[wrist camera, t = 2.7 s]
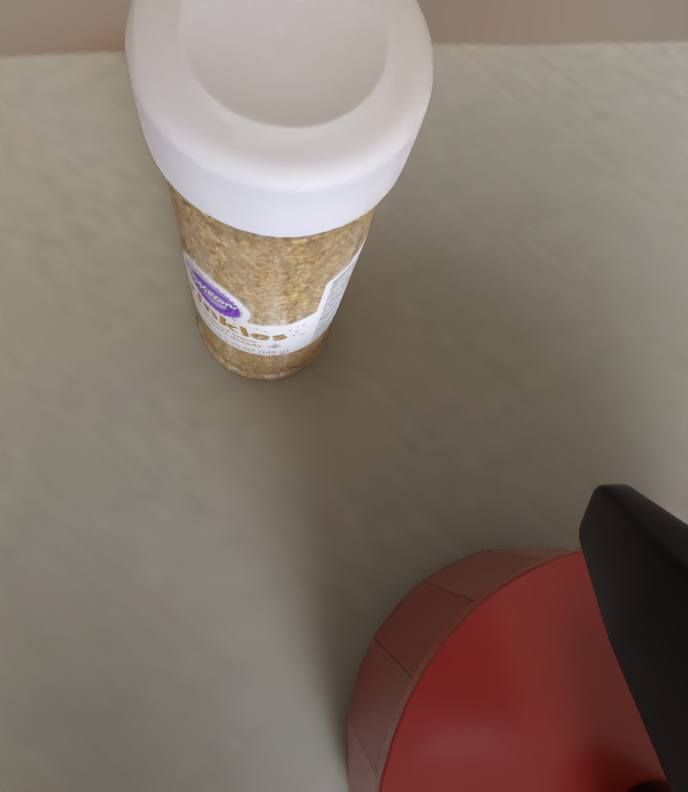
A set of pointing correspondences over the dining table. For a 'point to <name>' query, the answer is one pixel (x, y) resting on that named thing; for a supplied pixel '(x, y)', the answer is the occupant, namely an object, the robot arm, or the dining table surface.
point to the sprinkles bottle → (276, 153)
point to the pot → (416, 649)
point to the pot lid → (522, 698)
